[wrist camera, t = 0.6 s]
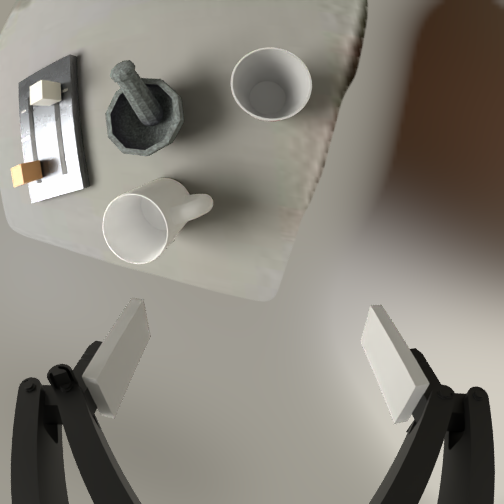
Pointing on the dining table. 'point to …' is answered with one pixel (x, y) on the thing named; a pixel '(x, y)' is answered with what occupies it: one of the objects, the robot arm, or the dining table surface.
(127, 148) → the mortar and pestle
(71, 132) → the console
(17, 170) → the fader
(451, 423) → the robot arm
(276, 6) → the dining table surface
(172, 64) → the dining table surface
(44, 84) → the fader
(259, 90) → the cup
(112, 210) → the mug
